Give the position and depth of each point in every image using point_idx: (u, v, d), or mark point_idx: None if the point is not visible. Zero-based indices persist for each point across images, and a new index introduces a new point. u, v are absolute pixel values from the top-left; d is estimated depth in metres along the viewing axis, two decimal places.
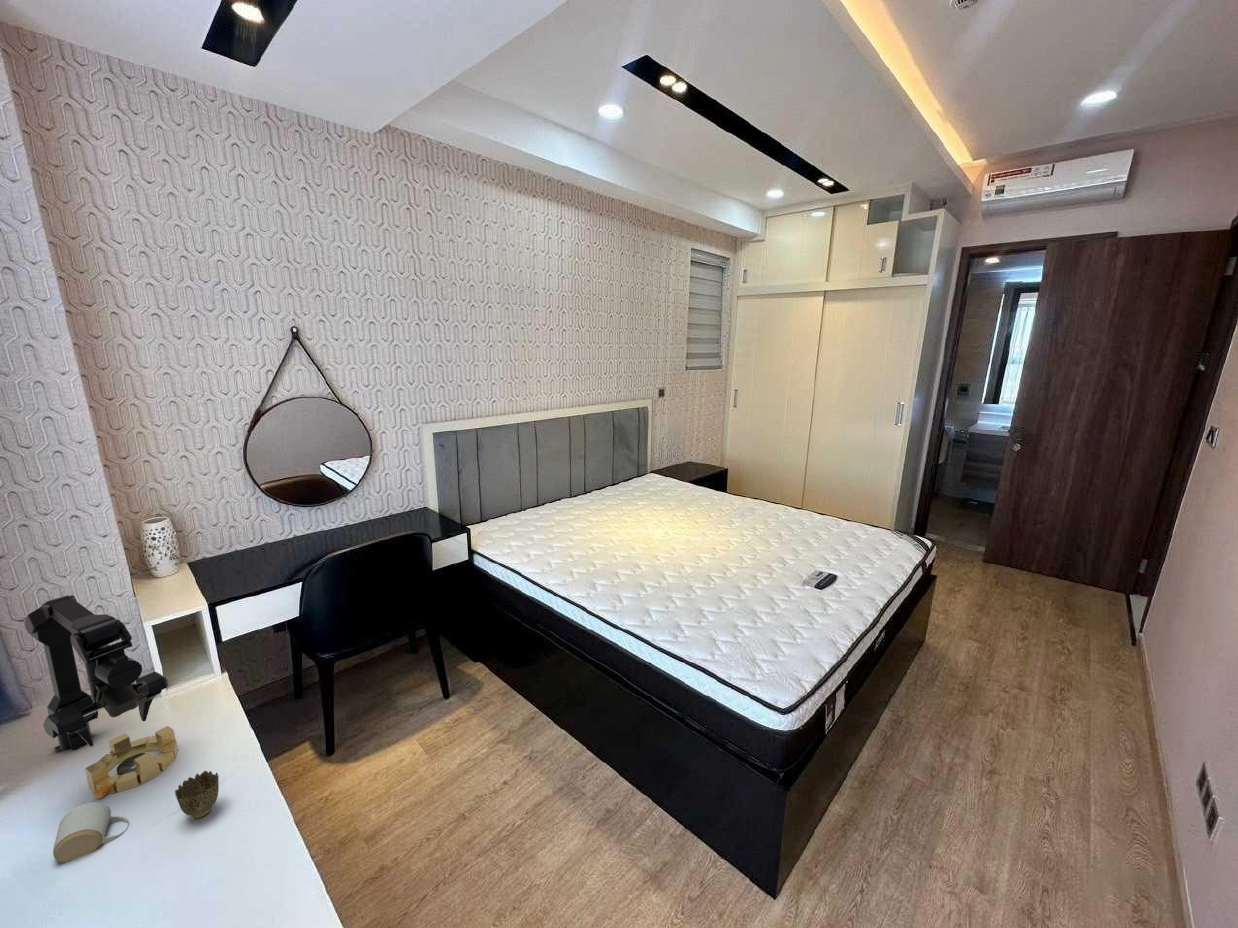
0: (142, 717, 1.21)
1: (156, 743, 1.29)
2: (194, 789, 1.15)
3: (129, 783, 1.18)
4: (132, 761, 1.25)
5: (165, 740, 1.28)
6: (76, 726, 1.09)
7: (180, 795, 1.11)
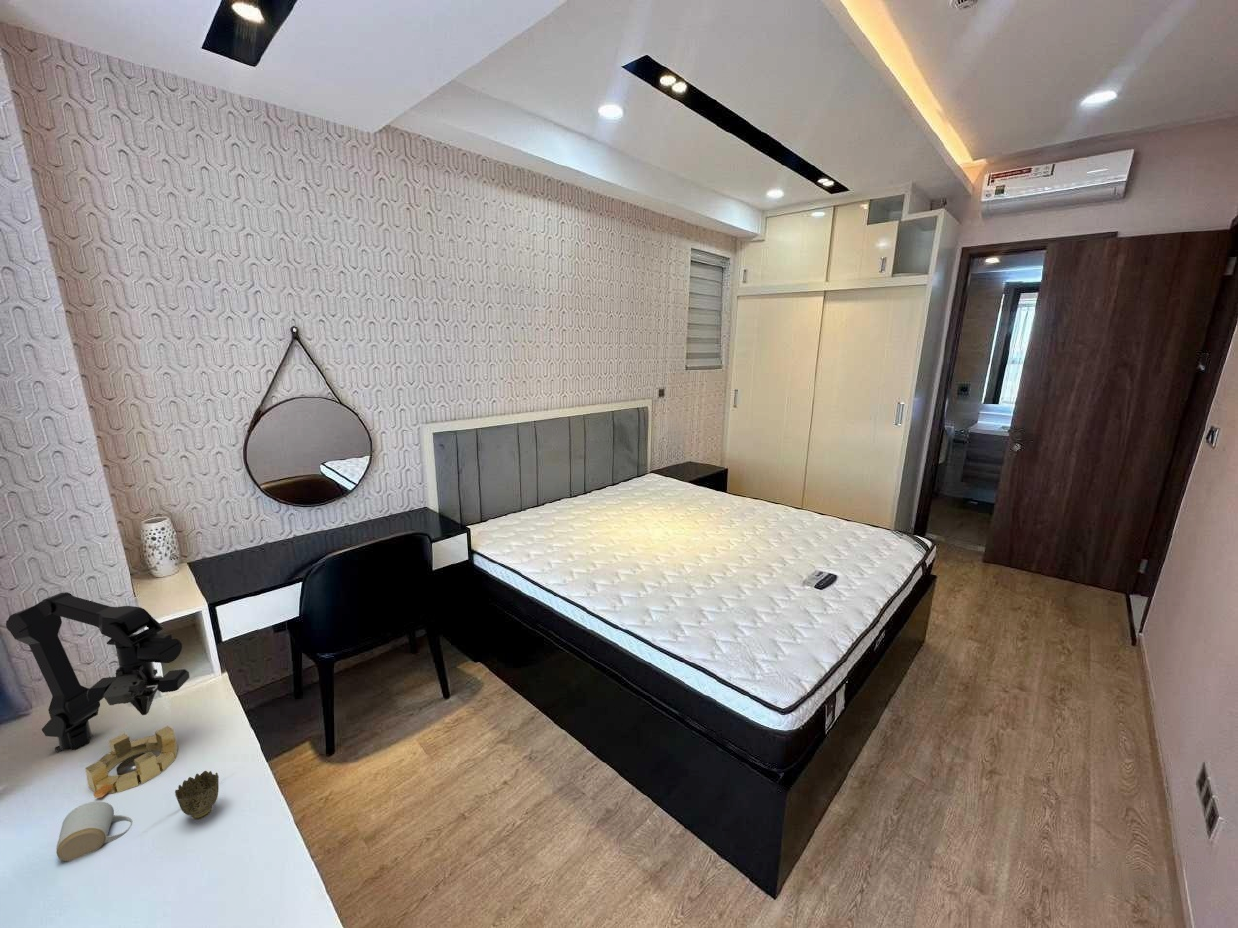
0: None
1: (156, 743, 1.29)
2: (194, 789, 1.15)
3: (129, 783, 1.18)
4: (132, 761, 1.25)
5: (165, 740, 1.28)
6: (98, 698, 1.23)
7: (180, 795, 1.11)
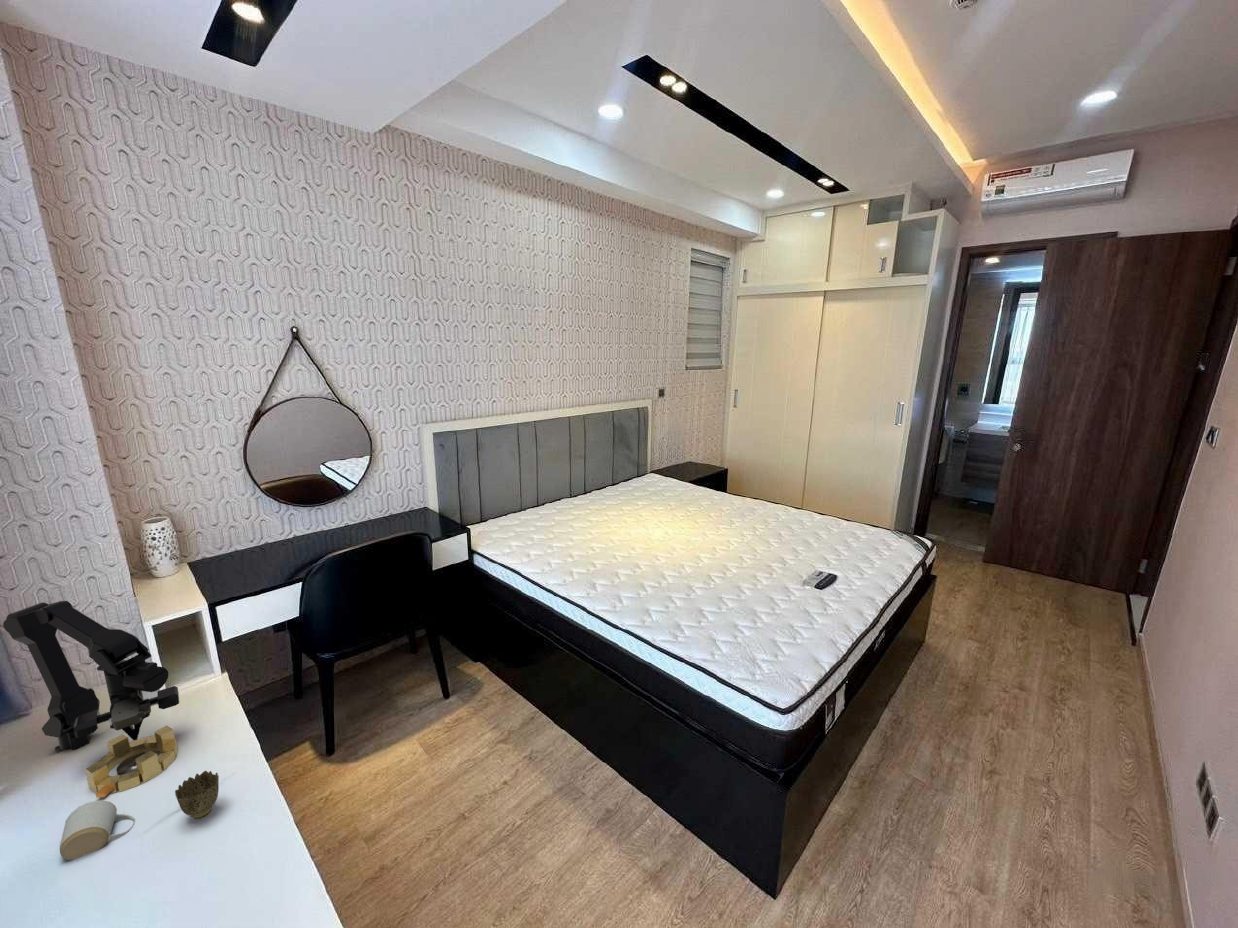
0: None
1: (155, 743, 1.29)
2: (194, 789, 1.15)
3: (131, 782, 1.18)
4: (132, 761, 1.25)
5: (165, 739, 1.29)
6: (90, 732, 1.20)
7: (180, 795, 1.11)
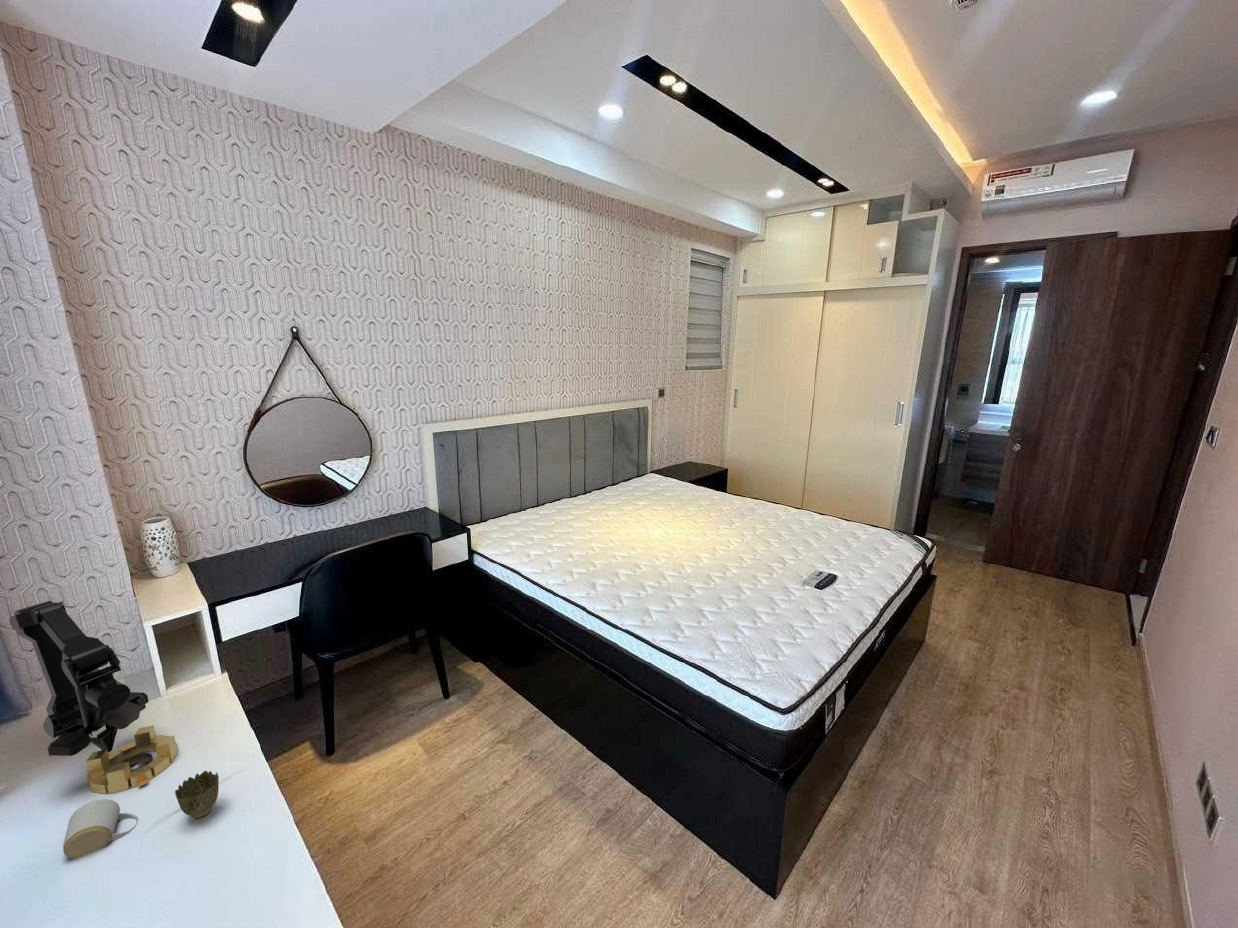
0: None
1: (135, 746, 1.28)
2: (194, 789, 1.15)
3: (163, 764, 1.24)
4: (132, 761, 1.25)
5: (151, 736, 1.30)
6: (85, 745, 1.16)
7: (180, 795, 1.11)
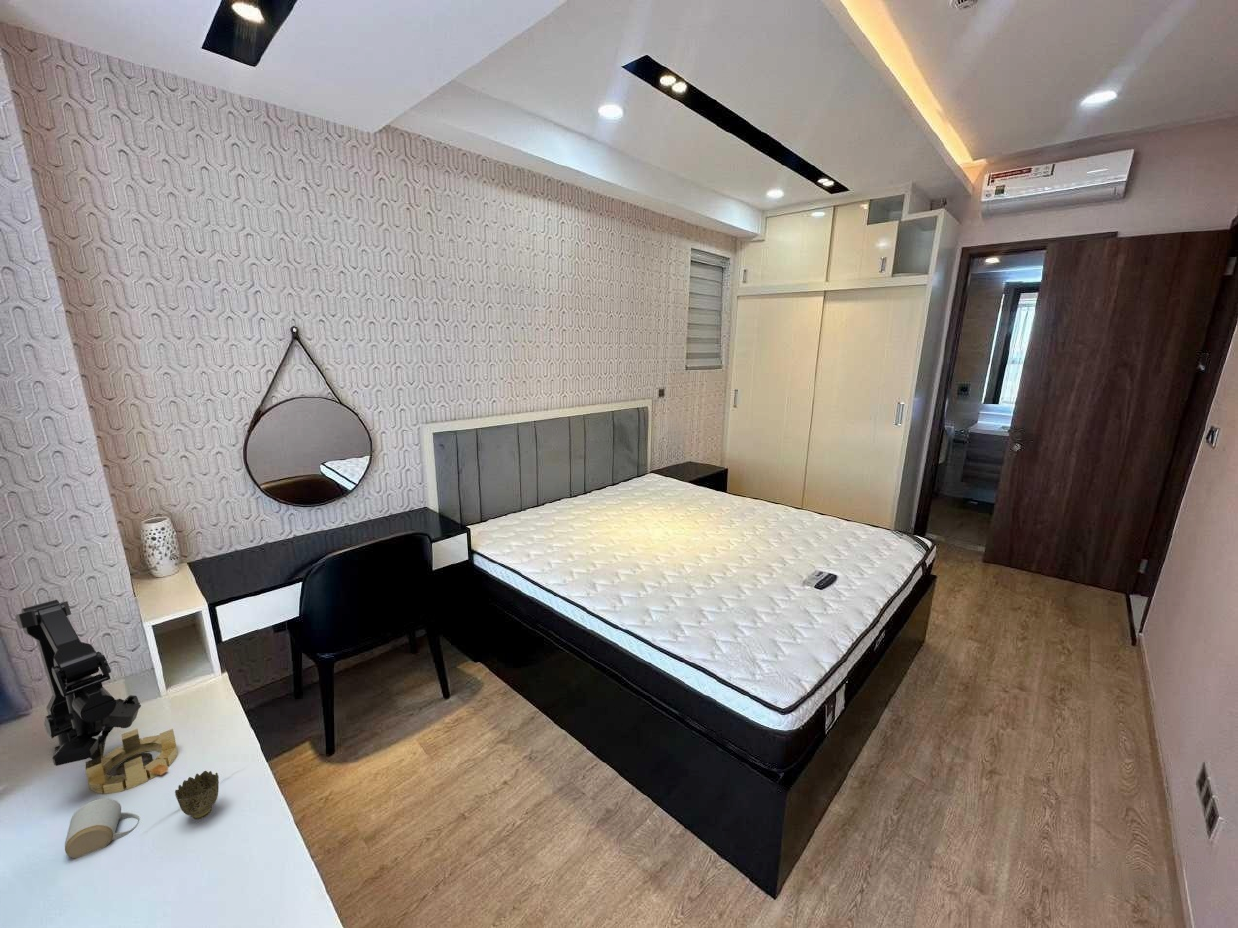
0: (99, 755, 1.22)
1: (123, 751, 1.26)
2: (194, 789, 1.15)
3: (173, 754, 1.27)
4: None
5: (139, 738, 1.29)
6: (95, 748, 1.15)
7: (180, 795, 1.11)
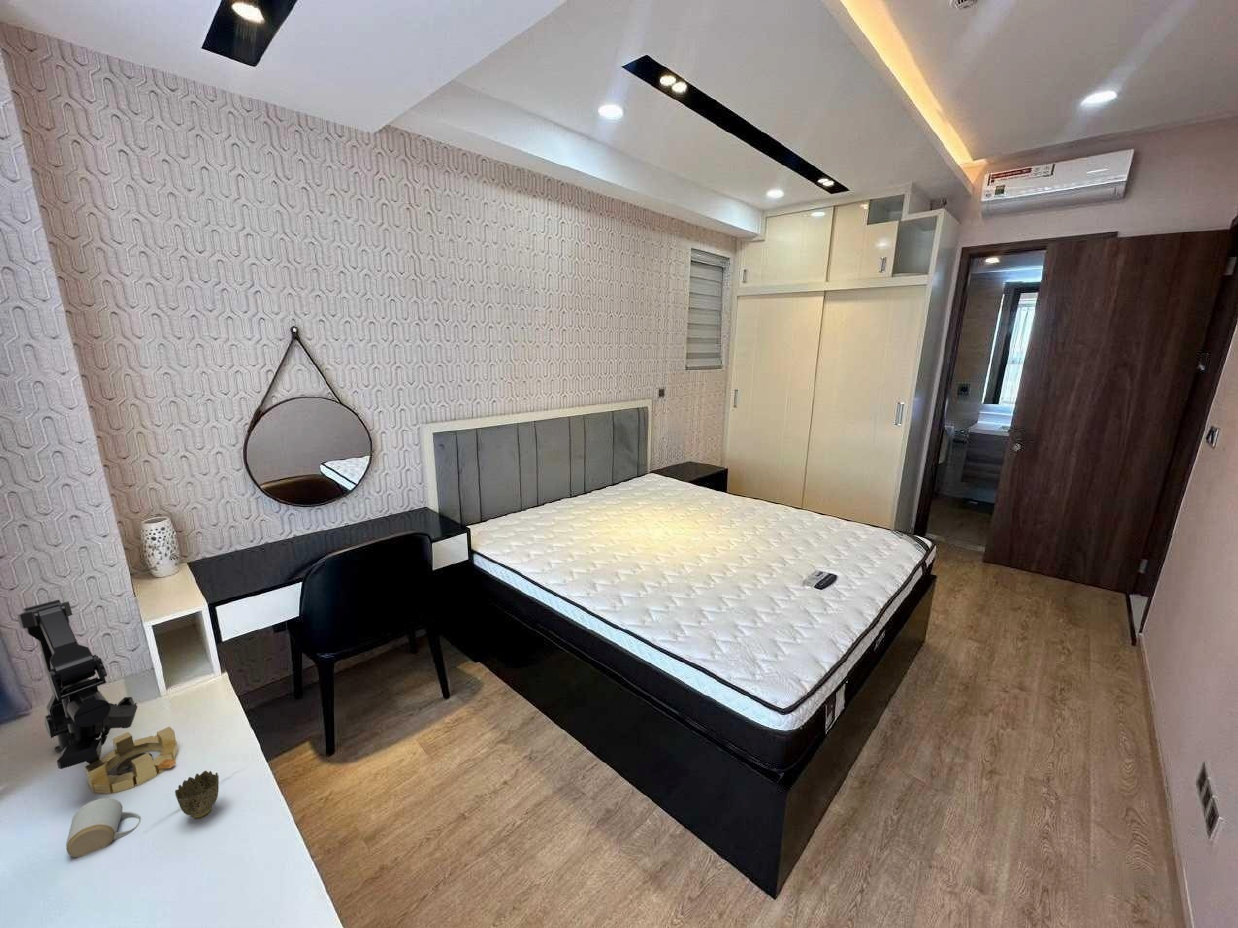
0: (96, 759, 1.20)
1: (117, 755, 1.25)
2: (194, 789, 1.15)
3: (175, 750, 1.28)
4: None
5: None
6: (100, 749, 1.15)
7: (180, 795, 1.11)
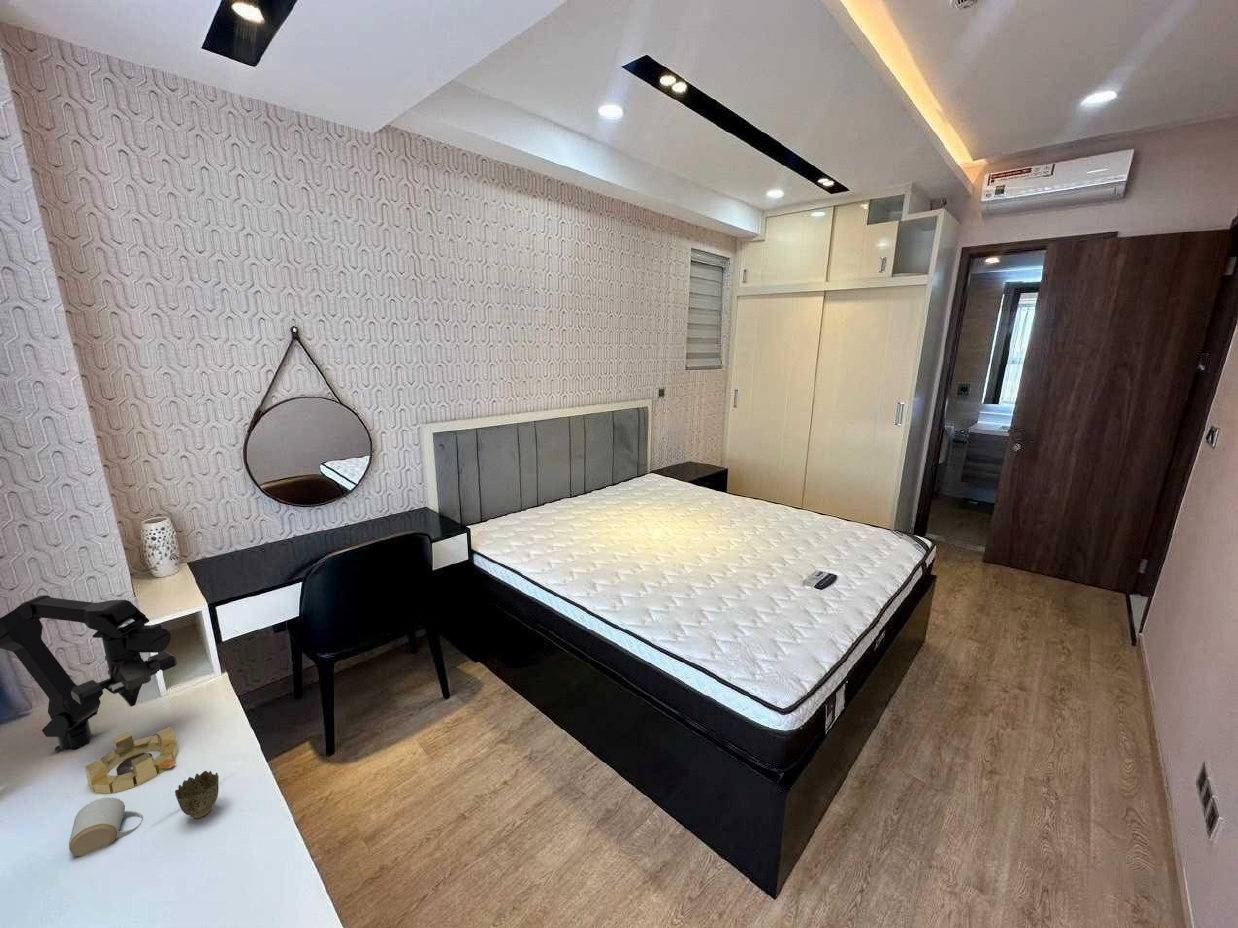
0: None
1: (117, 755, 1.25)
2: (194, 789, 1.15)
3: (175, 750, 1.28)
4: None
5: None
6: (96, 697, 1.22)
7: (180, 795, 1.11)
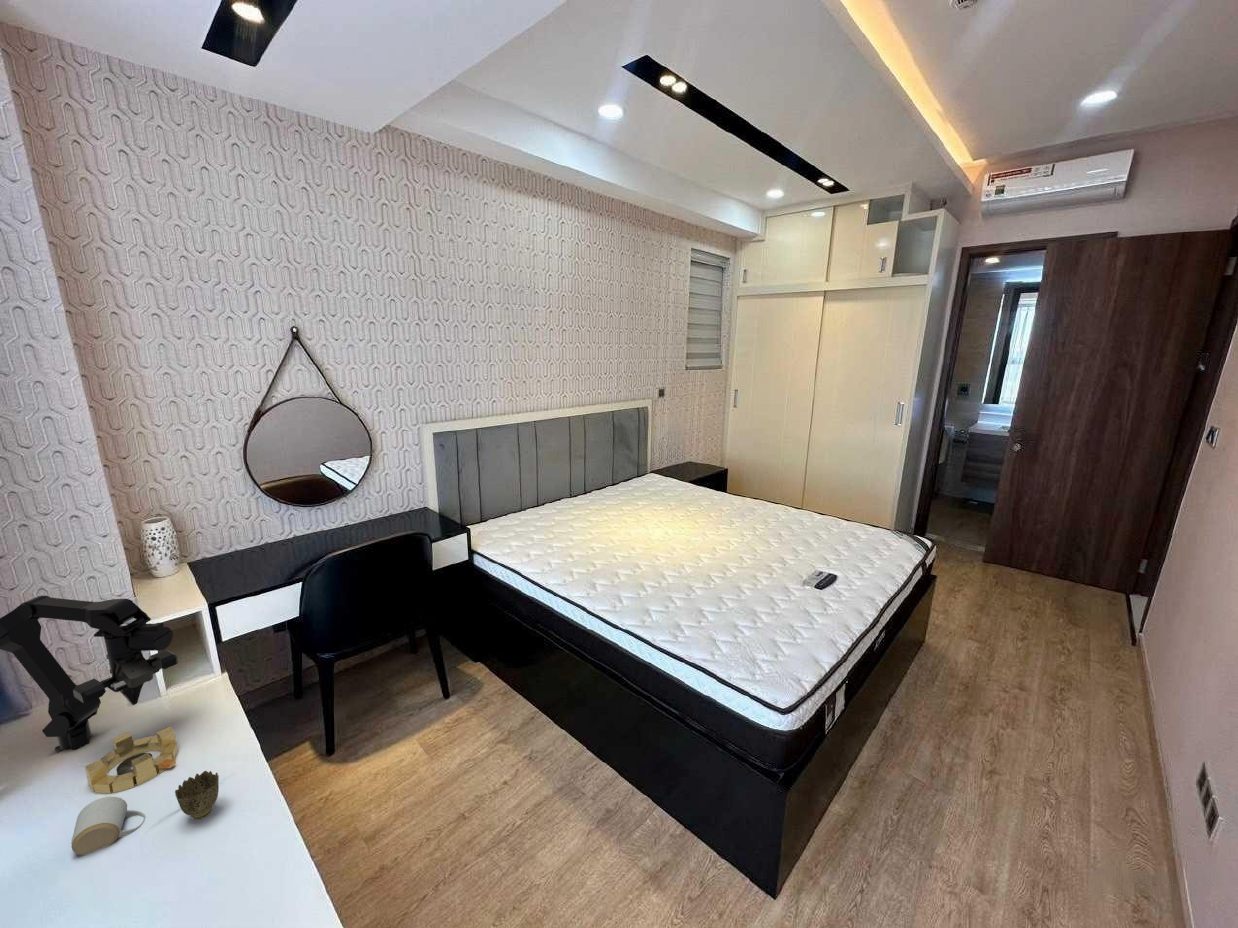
0: None
1: (117, 755, 1.25)
2: (194, 789, 1.15)
3: (175, 750, 1.28)
4: None
5: None
6: (98, 696, 1.22)
7: (180, 795, 1.11)
